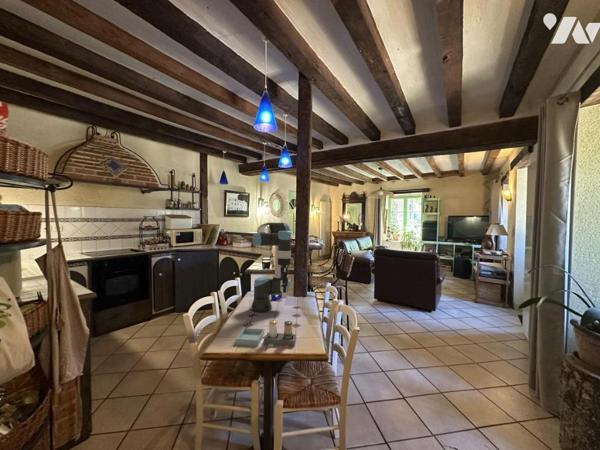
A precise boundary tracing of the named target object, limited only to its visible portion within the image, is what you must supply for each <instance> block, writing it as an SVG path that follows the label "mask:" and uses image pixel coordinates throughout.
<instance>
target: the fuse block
mask: <svg viewBox="0 0 600 450" xmlns="http://www.w3.org/2000/svg"><path fill="white" fill-rule="evenodd" d="M296 342H297V334H296V333H292V340H289V339H284V332H282V333H281V332H280V333H279V332H277V339H274V338H269V331H268V332H267V333H266V334H265V337H264V339H263V346H264V345H266V346H267V345H268V347H274V346H280V347H284V348H290V347H296Z"/></svg>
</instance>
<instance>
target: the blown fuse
mask: <svg viewBox="0 0 600 450" xmlns="http://www.w3.org/2000/svg"><path fill="white" fill-rule="evenodd" d="M283 327H284V328H283V331H284V332H283V334H284V339H289V340H292V334H293V321H290V320H286V321H285V320H284V325H283Z"/></svg>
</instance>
